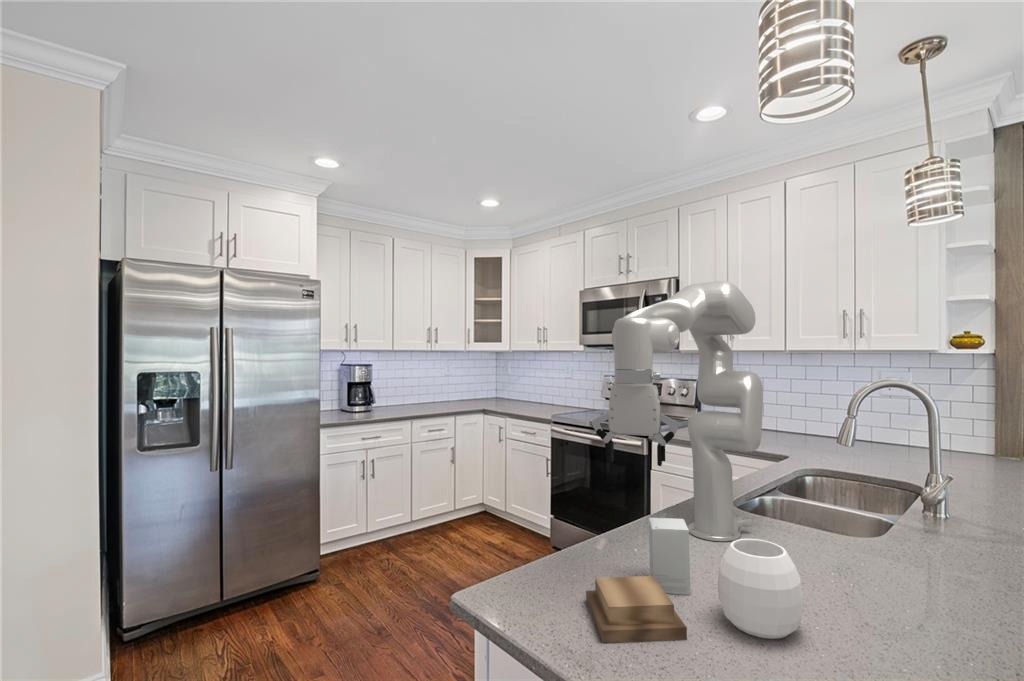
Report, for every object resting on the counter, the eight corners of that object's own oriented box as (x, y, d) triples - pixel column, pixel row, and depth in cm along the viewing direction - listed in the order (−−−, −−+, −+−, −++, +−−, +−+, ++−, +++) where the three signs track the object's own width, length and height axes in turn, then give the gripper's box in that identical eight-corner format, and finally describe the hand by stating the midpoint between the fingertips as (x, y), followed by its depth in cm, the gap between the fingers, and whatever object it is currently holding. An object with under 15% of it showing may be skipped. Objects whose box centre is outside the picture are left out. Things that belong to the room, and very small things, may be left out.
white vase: (707, 607, 93) (705, 533, 94) (779, 607, 93) (777, 533, 93) (737, 648, 80) (734, 563, 81) (821, 648, 80) (818, 563, 80)
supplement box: (691, 596, 98) (689, 530, 98) (651, 593, 99) (650, 528, 100) (686, 579, 105) (684, 518, 105) (649, 576, 106) (648, 516, 107)
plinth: (658, 598, 97) (657, 572, 97) (687, 639, 83) (686, 608, 83) (586, 601, 96) (585, 574, 96) (602, 643, 82) (602, 612, 82)
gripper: (678, 377, 103) (680, 462, 102) (594, 377, 109) (595, 457, 108) (677, 379, 96) (679, 470, 95) (587, 379, 102) (588, 464, 101)
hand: (635, 463), depth 102 cm, fingers open, 9 cm apart
